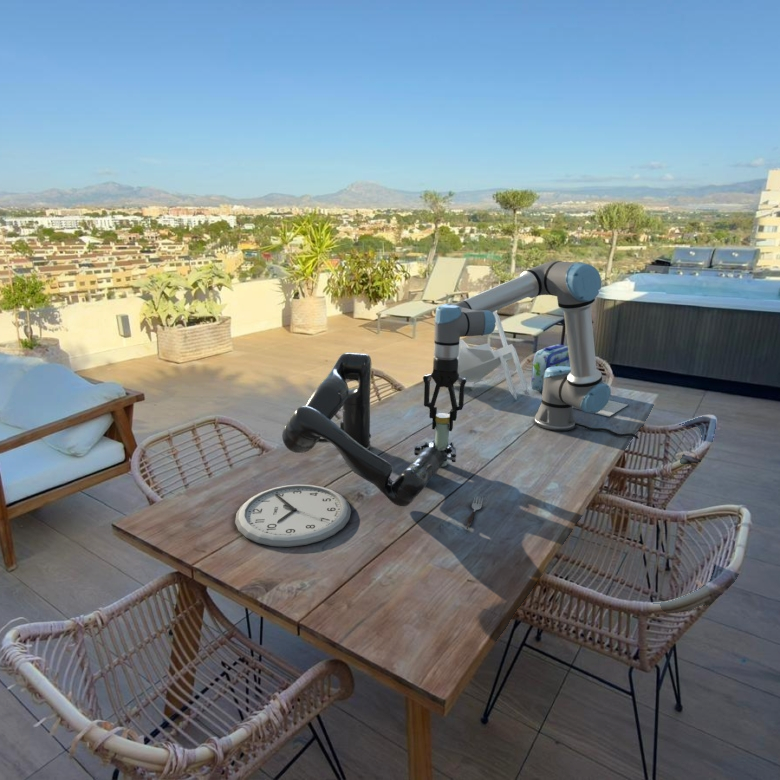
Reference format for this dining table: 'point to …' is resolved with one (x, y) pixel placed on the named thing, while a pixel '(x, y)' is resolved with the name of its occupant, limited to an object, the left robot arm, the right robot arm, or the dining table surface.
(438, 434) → the jar
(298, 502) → the wall clock
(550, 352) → the lunch box
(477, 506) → the fork
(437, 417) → the lid
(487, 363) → the white plastic object
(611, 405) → the invitation card
